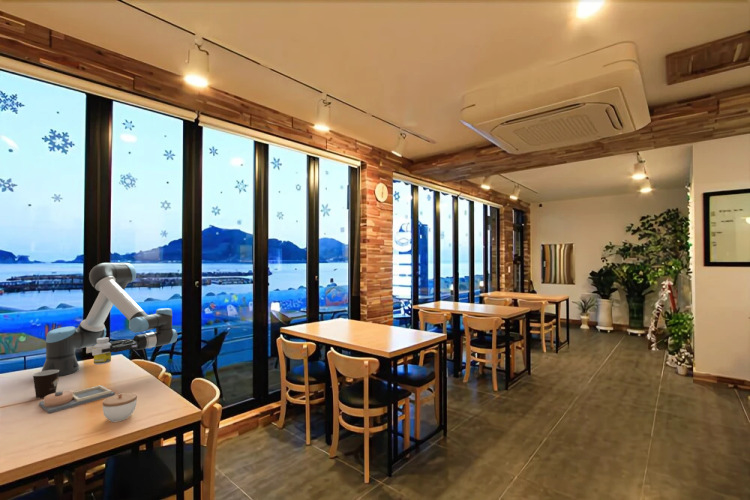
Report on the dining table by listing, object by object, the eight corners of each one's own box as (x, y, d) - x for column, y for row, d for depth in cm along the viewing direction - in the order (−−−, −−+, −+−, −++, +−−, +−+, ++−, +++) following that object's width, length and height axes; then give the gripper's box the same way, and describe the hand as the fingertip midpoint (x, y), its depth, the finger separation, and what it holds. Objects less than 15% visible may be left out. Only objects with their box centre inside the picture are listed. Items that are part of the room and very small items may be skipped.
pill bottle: (103, 365, 163) (104, 340, 163) (90, 365, 163) (90, 340, 163) (114, 360, 169) (114, 336, 169) (101, 360, 169) (101, 336, 169)
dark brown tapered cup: (42, 399, 151) (43, 376, 151) (27, 398, 153) (27, 375, 153) (70, 389, 163) (71, 368, 163) (56, 388, 164) (56, 367, 165)
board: (39, 404, 146) (39, 392, 146) (102, 388, 164) (102, 377, 164) (49, 413, 138) (49, 400, 138) (114, 395, 156) (114, 383, 156)
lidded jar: (131, 409, 142) (131, 386, 142) (140, 417, 135) (141, 393, 135) (98, 419, 133) (99, 394, 133) (106, 428, 126) (107, 401, 127)
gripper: (153, 351, 176) (97, 362, 156) (135, 346, 186) (81, 356, 167) (153, 336, 176) (97, 346, 156) (135, 331, 186) (81, 340, 167)
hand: (89, 351), depth 162 cm, fingers closed on pill bottle, 6 cm apart
